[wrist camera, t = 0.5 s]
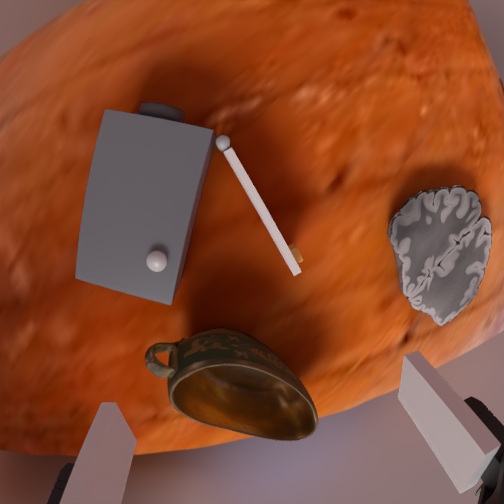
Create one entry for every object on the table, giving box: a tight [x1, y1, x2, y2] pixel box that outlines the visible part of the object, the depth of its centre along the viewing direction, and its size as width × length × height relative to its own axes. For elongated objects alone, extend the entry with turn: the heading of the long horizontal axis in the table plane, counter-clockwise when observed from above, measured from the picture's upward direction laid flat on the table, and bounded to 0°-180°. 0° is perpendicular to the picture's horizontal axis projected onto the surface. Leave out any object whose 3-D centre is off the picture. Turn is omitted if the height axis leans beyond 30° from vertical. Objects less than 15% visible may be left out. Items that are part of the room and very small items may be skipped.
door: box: [216, 135, 303, 276], centre depth 30 cm, size 2×14×6 cm, turn 29°
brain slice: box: [387, 185, 492, 326], centre depth 35 cm, size 20×17×3 cm
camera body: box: [75, 102, 216, 305], centre depth 28 cm, size 10×18×8 cm, turn 164°
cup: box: [145, 328, 318, 441], centre depth 33 cm, size 13×20×10 cm, turn 26°
